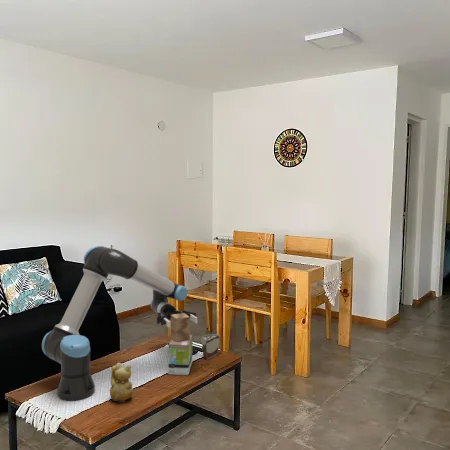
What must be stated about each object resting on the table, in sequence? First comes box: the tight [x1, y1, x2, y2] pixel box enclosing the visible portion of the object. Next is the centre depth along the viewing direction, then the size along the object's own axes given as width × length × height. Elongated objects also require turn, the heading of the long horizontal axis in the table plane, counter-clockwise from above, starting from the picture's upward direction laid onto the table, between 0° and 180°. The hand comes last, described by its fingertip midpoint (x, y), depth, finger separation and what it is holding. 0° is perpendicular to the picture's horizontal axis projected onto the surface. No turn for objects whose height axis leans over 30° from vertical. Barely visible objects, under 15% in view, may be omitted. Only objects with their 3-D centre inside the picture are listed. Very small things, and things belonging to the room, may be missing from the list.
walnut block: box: [170, 313, 191, 342], centre depth 222 cm, size 7×7×11 cm
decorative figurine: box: [109, 362, 134, 403], centre depth 192 cm, size 10×8×15 cm
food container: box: [200, 333, 221, 360], centre depth 241 cm, size 12×6×10 cm, turn 144°
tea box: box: [167, 334, 194, 376], centre depth 224 cm, size 15×10×15 cm, turn 178°
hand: (183, 322), depth 219 cm, fingers open, 13 cm apart
